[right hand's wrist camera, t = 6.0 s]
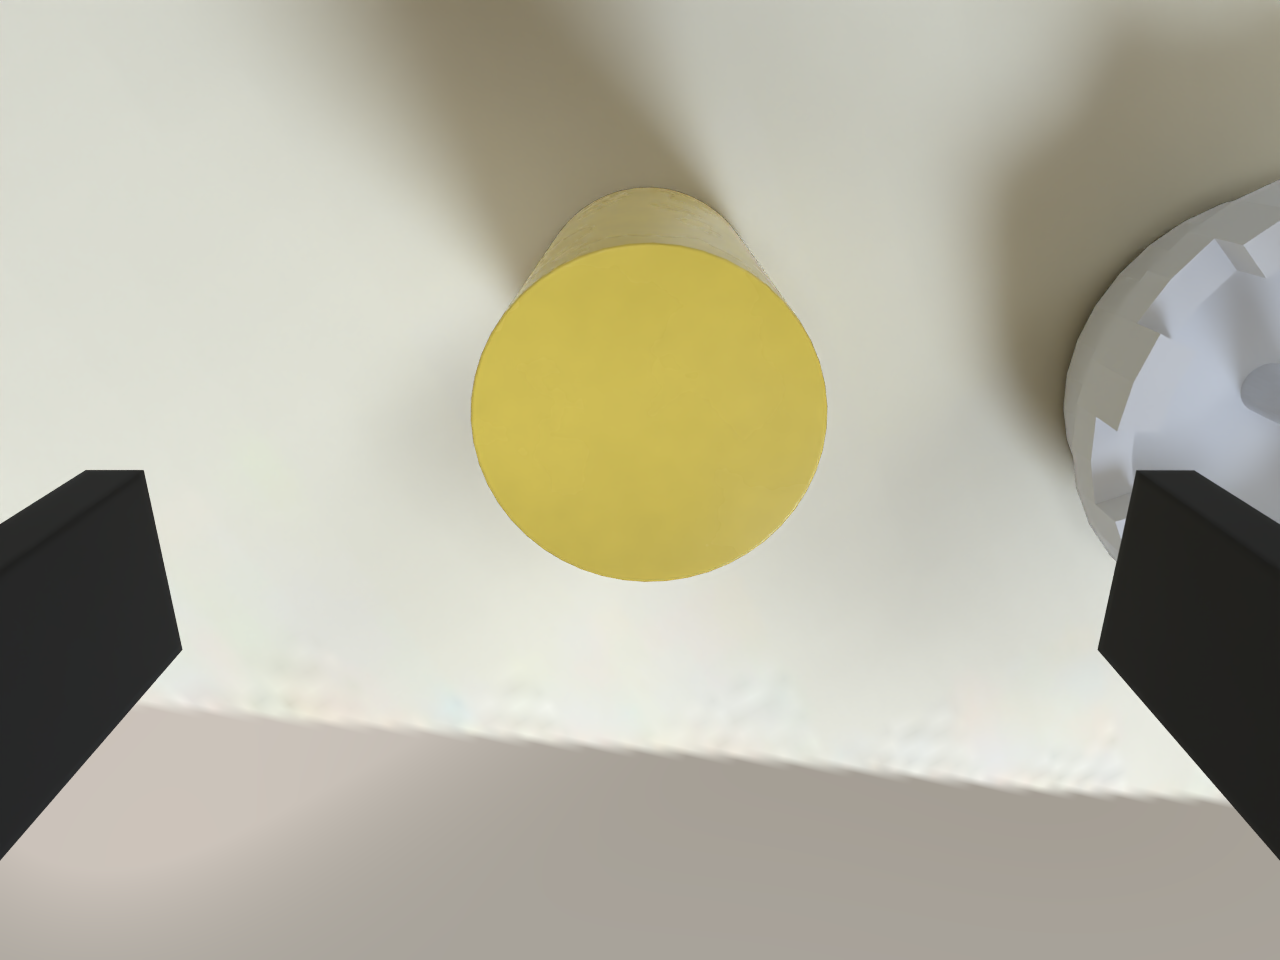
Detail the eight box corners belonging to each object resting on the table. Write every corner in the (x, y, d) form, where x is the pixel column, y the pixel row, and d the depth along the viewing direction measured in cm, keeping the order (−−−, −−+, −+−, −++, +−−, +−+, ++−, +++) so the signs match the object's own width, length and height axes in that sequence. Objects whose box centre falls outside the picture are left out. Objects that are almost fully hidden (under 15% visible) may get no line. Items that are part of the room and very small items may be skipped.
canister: (713, 151, 26) (762, 183, 15) (784, 361, 28) (870, 517, 17) (503, 237, 26) (408, 324, 16) (588, 433, 29) (555, 624, 18)
